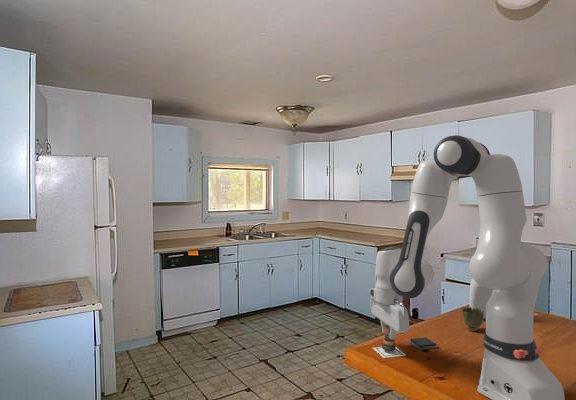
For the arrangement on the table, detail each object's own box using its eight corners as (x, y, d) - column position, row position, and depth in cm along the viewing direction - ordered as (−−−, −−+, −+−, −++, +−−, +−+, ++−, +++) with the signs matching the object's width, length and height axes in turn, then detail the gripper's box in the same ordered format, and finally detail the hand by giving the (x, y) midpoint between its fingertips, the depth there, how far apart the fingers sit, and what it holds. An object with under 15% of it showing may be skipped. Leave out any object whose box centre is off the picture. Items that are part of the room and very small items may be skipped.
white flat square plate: (406, 355, 122) (406, 354, 122) (383, 358, 120) (383, 357, 120) (393, 345, 130) (393, 345, 130) (372, 348, 128) (372, 347, 128)
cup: (487, 333, 140) (487, 312, 140) (467, 333, 140) (467, 312, 140) (477, 326, 148) (477, 306, 147) (459, 326, 148) (459, 306, 148)
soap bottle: (482, 324, 151) (482, 257, 150) (463, 318, 157) (464, 254, 157) (501, 317, 158) (502, 254, 158) (483, 312, 165) (483, 251, 165)
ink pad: (438, 347, 128) (438, 344, 128) (419, 349, 126) (419, 346, 126) (426, 339, 135) (426, 336, 135) (408, 341, 133) (408, 338, 133)
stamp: (398, 350, 123) (398, 320, 123) (385, 351, 123) (385, 321, 122) (391, 344, 128) (391, 316, 128) (379, 346, 127) (379, 317, 127)
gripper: (414, 303, 115) (414, 348, 116) (383, 287, 135) (383, 325, 136) (395, 305, 114) (395, 350, 114) (367, 288, 134) (367, 326, 134)
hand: (388, 336), depth 125 cm, fingers closed on stamp, 3 cm apart
